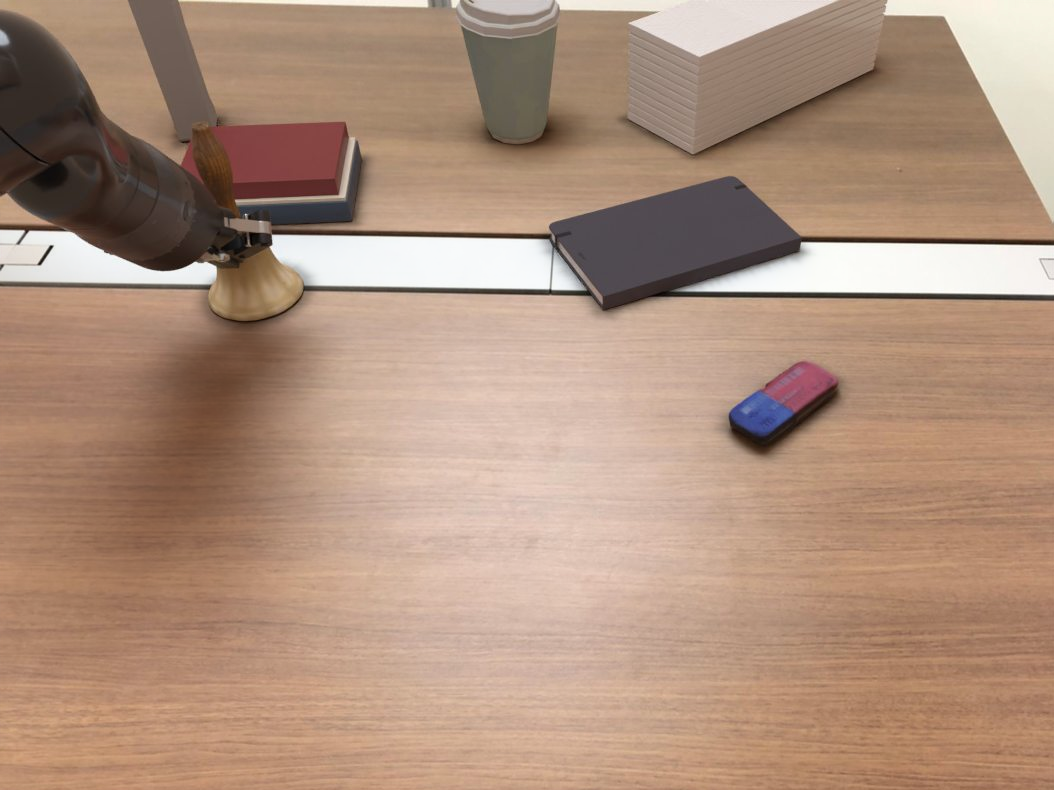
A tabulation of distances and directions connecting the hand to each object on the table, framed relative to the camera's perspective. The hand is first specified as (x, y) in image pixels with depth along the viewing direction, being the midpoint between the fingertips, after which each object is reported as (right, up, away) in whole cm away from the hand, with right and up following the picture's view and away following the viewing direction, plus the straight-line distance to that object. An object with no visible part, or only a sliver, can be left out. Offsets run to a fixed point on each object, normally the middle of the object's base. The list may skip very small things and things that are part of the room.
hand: (229, 256), depth 79 cm
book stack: (-2, +11, +17) cm, 20 cm away
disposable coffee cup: (+21, +20, +26) cm, 39 cm away
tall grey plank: (-14, +20, +25) cm, 35 cm away
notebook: (+38, +4, +12) cm, 40 cm away
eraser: (+47, -13, -3) cm, 49 cm away
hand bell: (0, -2, +6) cm, 6 cm away
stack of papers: (+49, +28, +33) cm, 65 cm away
